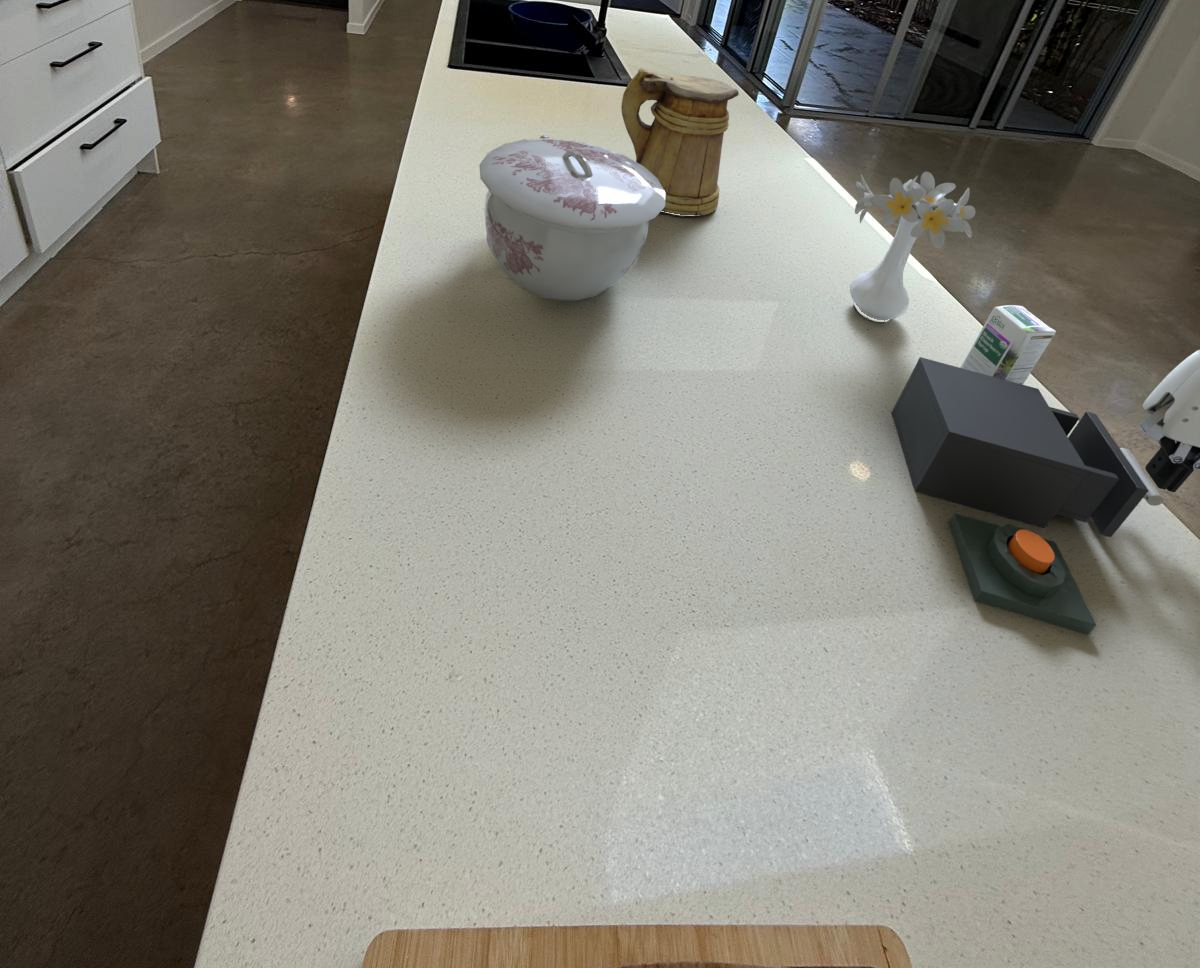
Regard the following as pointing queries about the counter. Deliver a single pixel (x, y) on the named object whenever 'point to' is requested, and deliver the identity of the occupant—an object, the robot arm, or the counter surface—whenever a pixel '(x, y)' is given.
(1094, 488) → the drawer
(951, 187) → the flower vase
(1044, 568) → the button
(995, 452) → the dark grey cabinet
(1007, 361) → the syrup box
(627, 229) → the chamber pot
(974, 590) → the panel
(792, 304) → the counter surface
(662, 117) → the tankard
